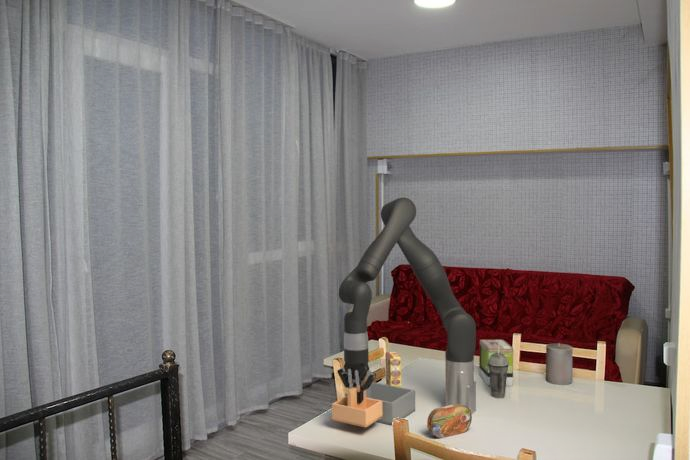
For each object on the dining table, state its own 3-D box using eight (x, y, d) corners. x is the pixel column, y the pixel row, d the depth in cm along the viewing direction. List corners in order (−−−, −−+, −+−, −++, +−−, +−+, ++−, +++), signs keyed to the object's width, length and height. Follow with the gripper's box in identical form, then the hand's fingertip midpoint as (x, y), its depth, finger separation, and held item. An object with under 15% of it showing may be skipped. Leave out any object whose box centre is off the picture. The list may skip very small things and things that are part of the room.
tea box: (514, 386, 214) (514, 347, 214) (487, 386, 214) (487, 347, 214) (503, 374, 229) (503, 338, 229) (478, 375, 229) (478, 338, 229)
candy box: (402, 401, 199) (402, 357, 198) (390, 401, 198) (390, 358, 198) (396, 393, 207) (396, 351, 207) (385, 393, 207) (384, 351, 206)
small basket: (382, 416, 175) (381, 385, 175) (365, 427, 167) (365, 394, 167) (349, 410, 182) (349, 379, 181) (332, 420, 173) (331, 388, 173)
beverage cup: (486, 398, 201) (486, 342, 200) (489, 392, 208) (489, 337, 207) (507, 400, 198) (507, 343, 198) (509, 394, 205) (509, 339, 204)
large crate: (415, 410, 189) (415, 390, 189) (392, 425, 176) (392, 403, 176) (370, 401, 199) (369, 381, 198) (345, 414, 186) (345, 393, 185)
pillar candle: (543, 377, 226) (543, 339, 225) (569, 377, 224) (569, 340, 224) (548, 384, 216) (548, 345, 215) (575, 385, 215) (575, 346, 214)
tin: (431, 440, 165) (431, 412, 164) (425, 437, 167) (425, 408, 167) (472, 431, 172) (472, 403, 171) (465, 427, 174) (465, 400, 174)
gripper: (381, 346, 173) (382, 402, 174) (344, 341, 180) (345, 395, 181) (368, 351, 167) (369, 410, 167) (330, 346, 174) (331, 402, 175)
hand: (357, 402), depth 174 cm, fingers closed on small basket, 1 cm apart
